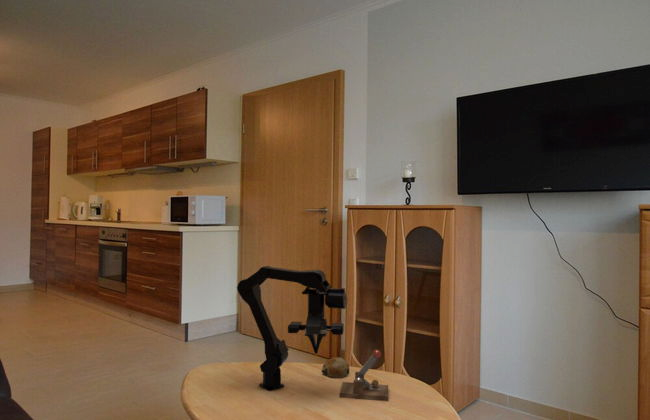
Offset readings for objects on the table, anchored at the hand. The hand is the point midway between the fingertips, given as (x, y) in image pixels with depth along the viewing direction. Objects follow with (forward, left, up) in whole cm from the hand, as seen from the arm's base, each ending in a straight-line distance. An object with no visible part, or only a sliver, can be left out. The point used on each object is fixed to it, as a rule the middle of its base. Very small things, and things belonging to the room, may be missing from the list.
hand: (316, 353), depth 156 cm
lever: (+10, +11, -10) cm, 18 cm away
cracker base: (+11, +12, -13) cm, 21 cm away
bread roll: (-9, +17, -13) cm, 23 cm away
